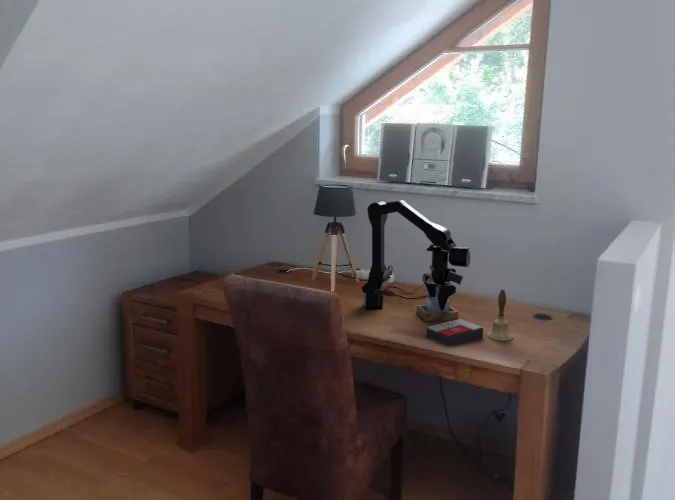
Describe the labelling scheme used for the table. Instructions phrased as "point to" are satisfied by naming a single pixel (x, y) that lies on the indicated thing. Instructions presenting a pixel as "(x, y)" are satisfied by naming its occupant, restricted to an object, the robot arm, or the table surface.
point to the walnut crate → (437, 314)
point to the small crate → (435, 305)
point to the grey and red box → (454, 332)
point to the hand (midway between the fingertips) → (437, 306)
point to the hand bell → (500, 322)
